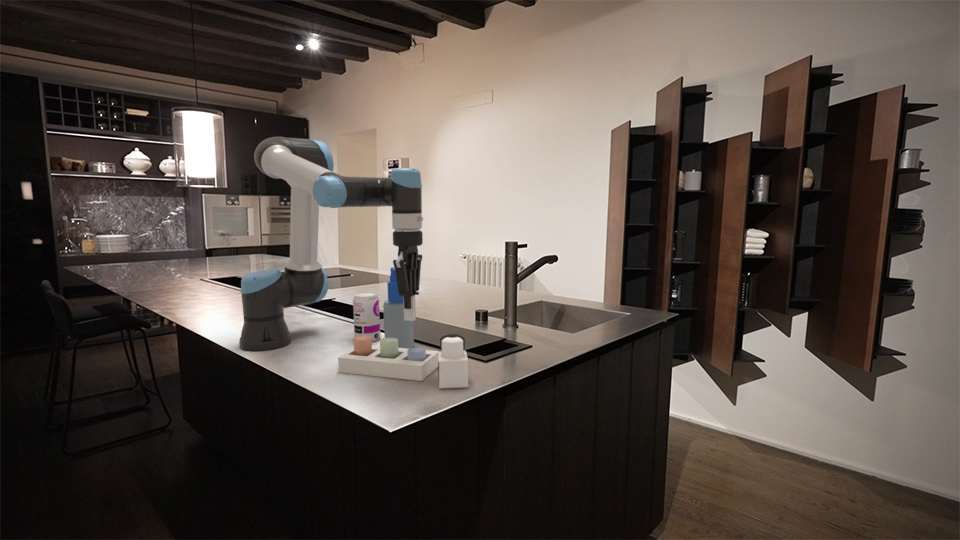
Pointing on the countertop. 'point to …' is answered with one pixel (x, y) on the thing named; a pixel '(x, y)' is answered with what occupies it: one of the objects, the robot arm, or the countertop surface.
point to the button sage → (389, 348)
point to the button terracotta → (362, 345)
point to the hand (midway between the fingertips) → (409, 319)
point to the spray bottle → (397, 316)
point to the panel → (388, 365)
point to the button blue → (416, 354)
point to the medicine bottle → (452, 362)
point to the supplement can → (366, 315)
